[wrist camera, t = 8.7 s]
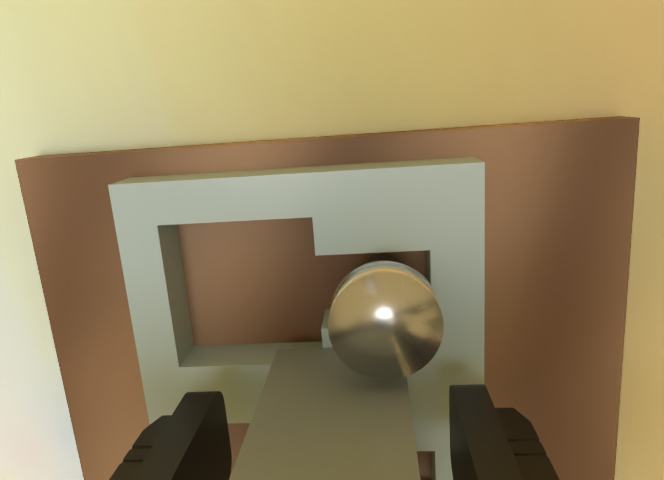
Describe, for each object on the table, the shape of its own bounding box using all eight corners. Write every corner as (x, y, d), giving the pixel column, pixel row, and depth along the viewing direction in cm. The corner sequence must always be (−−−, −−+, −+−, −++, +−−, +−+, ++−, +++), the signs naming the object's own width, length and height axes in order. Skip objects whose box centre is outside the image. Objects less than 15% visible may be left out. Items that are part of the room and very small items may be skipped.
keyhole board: (619, 116, 13) (639, 117, 12) (594, 525, 16) (609, 551, 15) (38, 155, 14) (14, 160, 13) (115, 527, 17) (100, 553, 16)
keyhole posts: (424, 228, 13) (442, 270, 10) (431, 485, 15) (449, 593, 12) (335, 232, 13) (323, 275, 10) (353, 485, 15) (348, 592, 12)
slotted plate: (474, 156, 13) (568, 207, 7) (475, 535, 15) (542, 816, 9) (130, 177, 13) (-64, 241, 7) (189, 536, 16) (81, 797, 10)
